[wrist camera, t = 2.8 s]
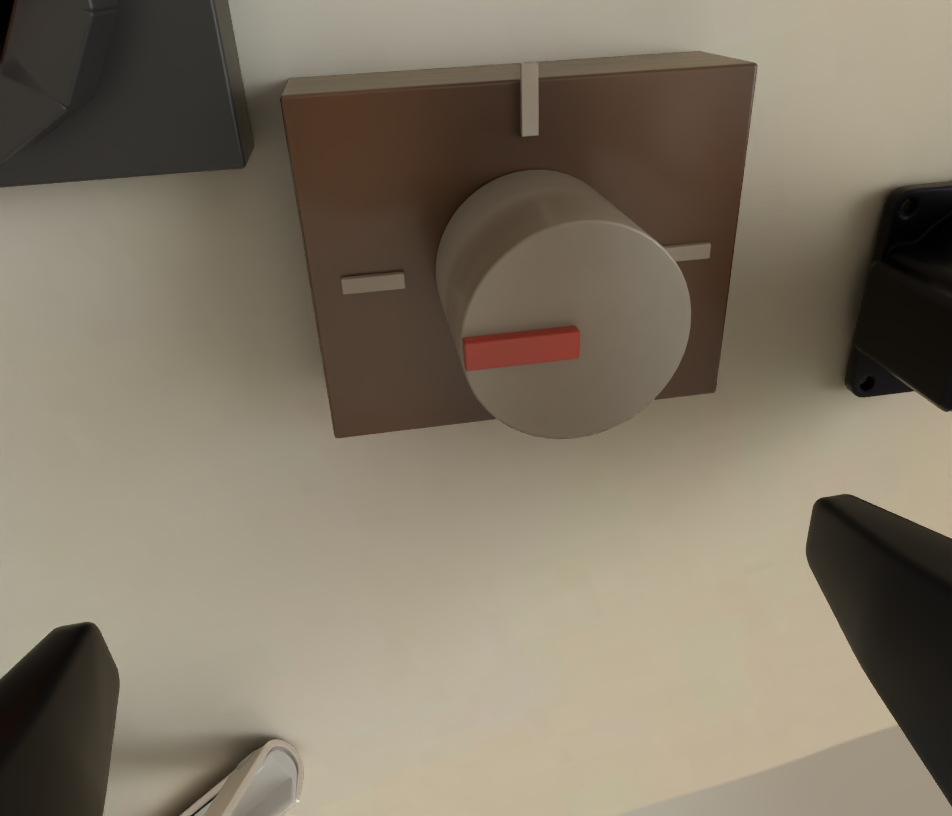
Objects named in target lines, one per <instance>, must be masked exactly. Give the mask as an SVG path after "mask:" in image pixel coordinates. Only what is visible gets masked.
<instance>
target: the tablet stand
mask: <svg viewBox="0 0 952 816" xmlns="http://www.w3.org/2000/svg"><path fill="white" fill-rule="evenodd" d="M303 778H304V767H303V763H302V760H301V758H300V756H299V754H298V753H297V751H296V750H295V749H294V748H293V747H292V746H291V745H290V744H289V743H287V742H286V741H283V740H279V739H274V740H270V741H269V742H267V743H266V744H265V745H264V746H262V747H261V748H260V749H256V750H254V751H253V752H252V753H250V754H249V755H248V756H247V757H246V758H244V759H243V760H242V761H241V762H240V763H239V764H238V765H237V767H236V769H235V770H234V771H232V772H231V773H230V774H229V775H228V776H226V777H225V778H224V779H223V780H222V781H220V782H219V783H218V784H217V785H216V786H214V787H213V788H212V789H211V790H209V791H208V792H207V793H206V794H205V795H203V796H202V797H201V798H200V799H199V800H197V801H196V802H195V803H194V804H193V805H191V806H190V807H189V808H188V809H187V810H185V811H184V812H183V813H182V814H181V815H179V816H282V815H283V814H285V813H286V812H287V811H289V810H290V809H291V808H292V807H294V806H295V805H296V804H297V803H298V802H299V800H300V795H301V789H302V784H303ZM103 816H105V813H104V810H103Z"/></svg>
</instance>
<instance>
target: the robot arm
mask: <svg viewBox="0 0 952 816" xmlns="http://www.w3.org/2000/svg"><path fill="white" fill-rule="evenodd" d="M908 199H909V204H908V206H907V208H906V209H905V210H904V211H903V212H901V207H902V205H903V203H905V202H906V201H907V200H908ZM865 377H867V379H866V381H864V382H863V383H862V384H860V383H861V381H862V380H863V379H864V378H865ZM845 385H846V387H847V389H848V390H850V391H851V392H852V393H853V394H855V395H856V396H858V397H871V396H879V395H887V394H895V393H903V392H911V391H916V392H917V393H918V394H920V395H921V396H923V397H924V398H925V399H927V400H928V401H930V402H931V403H932V404H934V405H935V406H937V407H938V408H939V409H941V410H943V411H946V412H948V411H952V182H942V183H931V184H920V185H909V186H903V187H899V188H897V189H896V190H894V191H893V192H892V193H891V194H890V195H889V196H888V198H887V199H886V202H885V204H884V208H883V212H882V217H881V221H880V226H879V230H878V235H877V239H876V244H875V248H874V253H873V257H872V262H871V266H870V269H869V272H868V276H867V281H866V285H865V290H864V294H863V299H862V303H861V308H860V312H859V317H858V321H857V326H856V330H855V335H854V339H853V347H852V351H851V356H850V360H849V365H848V369H847V374H846V378H845ZM806 556H807V560H808V563H809V566H810V568H811V570H812V572H813V574H814V576H815V578H816V580H817V582H818V584H819V586H820V588H821V590H822V592H823V594H824V596H825V598H826V600H827V602H828V603H829V605H830V607H831V609H832V611H833V613H834V615H835V617H836V619H837V621H838V623H839V625H840V627H841V629H842V631H843V633H844V635H845V637H846V639H847V641H848V643H849V645H850V647H851V648H852V650H853V652H854V654H855V656H856V658H857V660H858V661H859V663H860V665H861V667H862V669H863V670H864V672H865V673H866V675H867V677H868V678H869V680H870V682H871V683H872V685H873V686H874V688H875V689H876V691H877V692H878V694H879V696H880V697H881V699H882V700H883V702H884V703H885V705H886V706H887V708H888V709H889V711H890V712H891V714H892V716H893V717H894V719H895V720H896V722H897V723H898V725H899V726H900V728H901V729H902V731H903V732H904V734H905V735H906V737H907V739H908V740H909V741H910V743H911V745H912V746H913V748H914V749H915V751H916V752H917V754H918V755H919V757H920V758H921V760H922V762H923V763H924V765H925V766H926V768H927V769H928V771H929V772H930V774H931V775H932V777H933V779H934V780H935V782H936V783H937V785H938V786H939V788H940V789H941V790H942V792H943V794H944V795H945V797H946V798H947V800H948V802H949V803H950V805H951V806H952V539H951V538H949V537H946V536H944V535H942V534H940V533H937V532H935V531H933V530H930V529H928V528H926V527H924V526H921V525H919V524H917V523H914V522H912V521H910V520H908V519H905V518H903V517H901V516H899V515H896V514H894V513H892V512H889V511H887V510H885V509H883V508H880V507H878V506H876V505H873V504H871V503H869V502H867V501H864V500H862V499H860V498H857V497H855V496H853V495H849V494H842V495H836V496H830V497H824V498H820V499H819V500H817V501H816V502H815V504H814V506H813V509H812V515H811V520H810V526H809V532H808V537H807V543H806ZM119 687H120V680H119V673H118V669H117V667H116V664H115V662H114V660H113V658H112V656H111V653H110V651H109V649H108V647H107V645H106V643H105V640H104V638H103V636H102V634H101V632H100V630H99V628H98V627H97V626H96V625H95V624H94V623H91V622H83V623H77V624H71V625H66V626H61V627H58V628H56V629H54V630H53V631H51V632H50V633H49V634H48V635H47V636H46V637H45V638H44V639H43V640H42V641H41V642H39V643H38V644H37V645H36V646H35V647H34V648H33V649H32V650H31V651H30V652H29V653H28V654H27V655H26V656H25V657H24V658H22V659H21V660H20V661H19V662H18V663H17V664H16V665H15V666H14V667H13V668H12V669H11V670H10V671H9V672H8V673H7V674H5V675H4V676H3V677H2V678H1V679H0V816H103V810H104V804H105V797H106V791H107V783H108V775H109V767H110V759H111V751H112V743H113V736H114V728H115V720H116V712H117V704H118V696H119Z"/></svg>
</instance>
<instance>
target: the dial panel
mask: <svg viewBox="0 0 952 816" xmlns="http://www.w3.org/2000/svg"><path fill="white" fill-rule="evenodd" d="M756 73H757V64H756V63H754V62H749V61H744V60H739V59H734V58H730V57H725V56H720V55H715V54H710V53H706V52H701V51H695V52H680V53H665V54H649V55H634V56H619V57H604V58H589V59H574V60H559V61H544V62H529V63H513V64H498V65H483V66H468V67H453V68H438V69H423V70H408V71H393V72H377V73H362V74H347V75H332V76H317V77H302V78H290V79H288V81H287V84H286V86H285V88H284V90H283V93H282V95H281V98H280V102H281V108H282V114H283V120H284V126H285V133H286V139H287V145H288V151H289V157H290V164H291V170H292V176H293V182H294V188H295V195H296V201H297V207H298V213H299V219H300V226H301V232H302V238H303V244H304V250H305V257H306V263H307V269H308V275H309V281H310V287H311V294H312V300H313V306H314V312H315V318H316V325H317V331H318V337H319V343H320V349H321V356H322V362H323V368H324V374H325V380H326V387H327V393H328V399H329V405H330V411H331V418H332V424H333V430H334V436H335V437H336V438H343V437H351V436H360V435H368V434H376V433H384V432H393V431H401V430H409V429H418V428H426V427H434V426H442V425H451V424H459V423H467V422H475V421H484V420H492V419H497V418H495V417H494V416H493V415H492V414H491V413H489V412H488V411H487V410H486V409H485V408H484V406H483V405H482V404H481V403H480V402H479V401H478V399H477V398H476V396H475V395H474V393H473V392H472V390H471V388H470V386H469V384H468V381H467V379H466V377H465V374H464V371H463V368H462V365H461V362H460V359H459V355H458V352H457V349H456V346H455V343H454V340H453V337H452V334H451V331H450V328H449V325H448V322H447V319H446V315H445V312H444V309H443V306H442V303H441V300H440V297H439V293H438V290H437V283H436V258H437V251H438V248H439V244H440V240H441V238H442V235H443V233H444V231H445V228H446V226H447V225H448V223H449V221H450V219H451V218H452V216H453V215H454V213H455V212H456V211H457V209H458V208H459V207H460V206H461V205H462V204H463V203H464V202H465V201H466V200H467V198H468V197H469V196H471V195H472V194H473V193H474V192H476V191H477V190H478V189H480V188H481V187H483V186H484V185H486V184H488V183H489V182H491V181H493V180H495V179H497V178H500V177H502V176H504V175H508V174H511V173H515V172H519V171H526V170H550V171H557V172H561V173H564V174H568V175H570V176H573V177H575V178H577V179H579V180H581V181H583V182H584V183H586V184H588V185H589V186H591V187H592V188H593V189H594V190H595V191H597V192H598V193H599V194H600V195H601V196H603V197H604V198H605V199H606V200H608V201H609V202H610V203H611V204H612V205H614V206H615V207H616V208H617V209H618V210H620V211H621V212H622V213H623V214H624V215H626V216H627V217H628V218H629V219H631V220H632V221H633V222H634V223H635V224H637V225H638V226H639V227H640V228H641V229H643V230H644V231H645V232H646V233H648V234H649V235H650V236H651V237H652V238H654V239H655V240H656V241H657V242H658V243H659V244H661V245H662V246H663V247H664V248H665V249H666V250H667V251H668V253H669V254H670V255H671V256H672V257H673V258H674V260H675V262H676V263H677V265H678V266H679V268H680V270H681V272H682V274H683V276H684V279H685V281H686V284H687V288H688V292H689V296H690V304H691V327H690V332H689V338H688V342H687V345H686V349H685V352H684V355H683V357H682V359H681V361H680V364H679V366H678V368H677V369H676V371H675V373H674V374H673V376H672V378H671V379H670V381H669V382H668V383H667V385H666V386H665V387H664V389H663V390H662V391H661V392H660V393H659V394H658V395H657V396H656V397H655V399H654V400H657V399H666V398H674V397H682V396H690V395H699V394H707V393H714V392H715V391H716V385H717V377H718V369H719V362H720V354H721V346H722V338H723V331H724V323H725V315H726V307H727V299H728V292H729V284H730V276H731V268H732V260H733V253H734V245H735V237H736V229H737V221H738V214H739V206H740V198H741V190H742V182H743V175H744V167H745V159H746V151H747V144H748V136H749V128H750V120H751V112H752V105H753V97H754V89H755V81H756Z"/></svg>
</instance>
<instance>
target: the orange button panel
mask: <svg viewBox="0 0 952 816" xmlns="http://www.w3.org/2000/svg"><path fill="white" fill-rule="evenodd" d="M253 149H254V142H253V136H252V131H251V125H250V120H249V114H248V109H247V103H246V98H245V92H244V87H243V81H242V76H241V70H240V65H239V59H238V54H237V48H236V43H235V37H234V32H233V26H232V21H231V15H230V10H229V5H228V0H0V187H13V186H25V185H38V184H51V183H63V182H76V181H88V180H101V179H114V178H126V177H139V176H152V175H164V174H177V173H190V172H202V171H215V170H228V169H240V168H244V167H245V166H246V163H247V161H248V159H249V157H250V155H251V153H252V151H253Z"/></svg>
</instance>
